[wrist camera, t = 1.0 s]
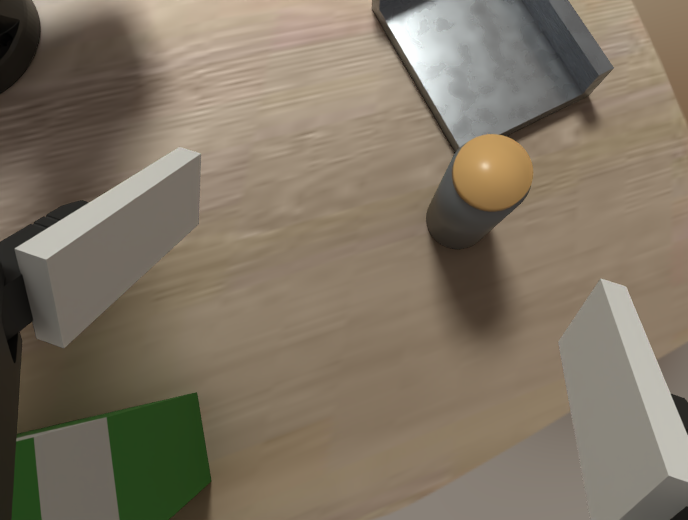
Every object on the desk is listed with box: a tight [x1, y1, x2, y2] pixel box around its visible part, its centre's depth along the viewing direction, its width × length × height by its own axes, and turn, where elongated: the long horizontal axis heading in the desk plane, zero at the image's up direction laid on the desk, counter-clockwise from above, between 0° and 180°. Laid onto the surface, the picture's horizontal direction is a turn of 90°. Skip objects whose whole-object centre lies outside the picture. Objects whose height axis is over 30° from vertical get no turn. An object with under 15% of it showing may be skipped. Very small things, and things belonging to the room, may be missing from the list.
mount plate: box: [372, 0, 614, 153], centre depth 44 cm, size 18×14×4 cm
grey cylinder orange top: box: [426, 134, 533, 249], centre depth 37 cm, size 6×6×12 cm
